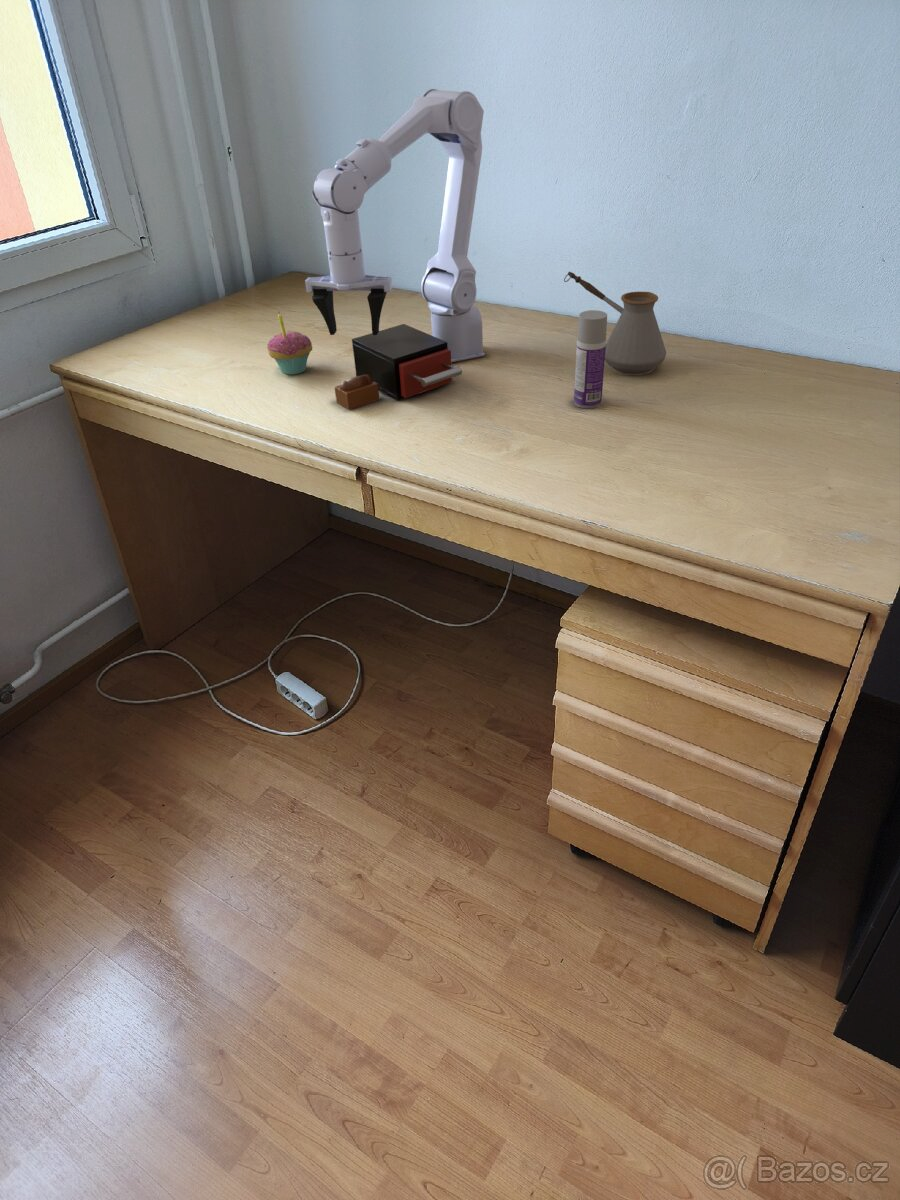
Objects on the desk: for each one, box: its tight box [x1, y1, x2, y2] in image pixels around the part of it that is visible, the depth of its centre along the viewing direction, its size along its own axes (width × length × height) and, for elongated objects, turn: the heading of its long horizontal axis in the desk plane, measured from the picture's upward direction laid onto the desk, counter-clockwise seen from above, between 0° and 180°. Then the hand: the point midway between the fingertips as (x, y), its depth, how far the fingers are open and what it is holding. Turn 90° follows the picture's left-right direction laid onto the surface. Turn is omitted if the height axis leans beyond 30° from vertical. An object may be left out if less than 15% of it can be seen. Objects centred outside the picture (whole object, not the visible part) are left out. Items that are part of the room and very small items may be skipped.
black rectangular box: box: [351, 323, 448, 401], centre depth 146 cm, size 14×12×8 cm
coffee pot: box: [563, 271, 667, 376], centre depth 146 cm, size 21×12×15 cm, turn 49°
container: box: [573, 309, 608, 410], centre depth 132 cm, size 5×5×15 cm
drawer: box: [398, 349, 463, 399], centre depth 143 cm, size 17×10×6 cm, turn 37°
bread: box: [334, 375, 380, 411], centre depth 140 cm, size 6×4×4 cm, turn 128°
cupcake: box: [267, 310, 313, 375], centre depth 151 cm, size 9×8×12 cm
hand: (354, 333), depth 140 cm, fingers open, 7 cm apart
